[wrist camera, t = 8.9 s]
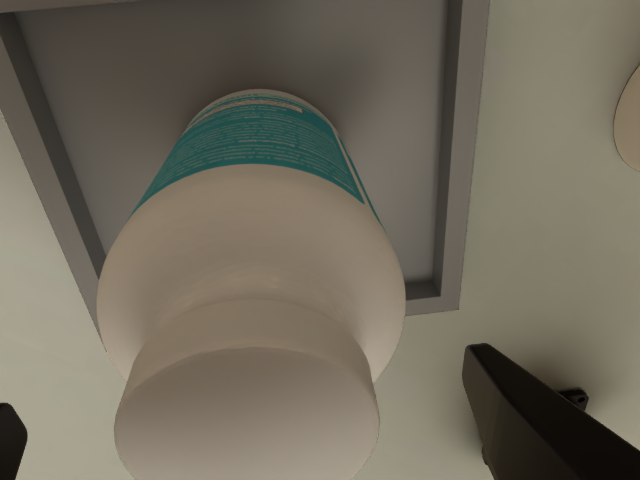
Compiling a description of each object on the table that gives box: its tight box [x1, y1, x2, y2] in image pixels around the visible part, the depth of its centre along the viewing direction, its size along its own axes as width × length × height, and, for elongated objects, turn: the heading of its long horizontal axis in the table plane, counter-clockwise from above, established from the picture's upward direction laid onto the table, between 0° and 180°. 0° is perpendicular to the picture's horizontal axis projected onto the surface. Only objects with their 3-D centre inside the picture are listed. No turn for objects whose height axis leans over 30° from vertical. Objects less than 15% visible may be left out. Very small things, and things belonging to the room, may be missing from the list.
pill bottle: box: [97, 89, 406, 480], centre depth 13 cm, size 8×7×14 cm
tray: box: [0, 0, 490, 352], centre depth 19 cm, size 18×16×2 cm
